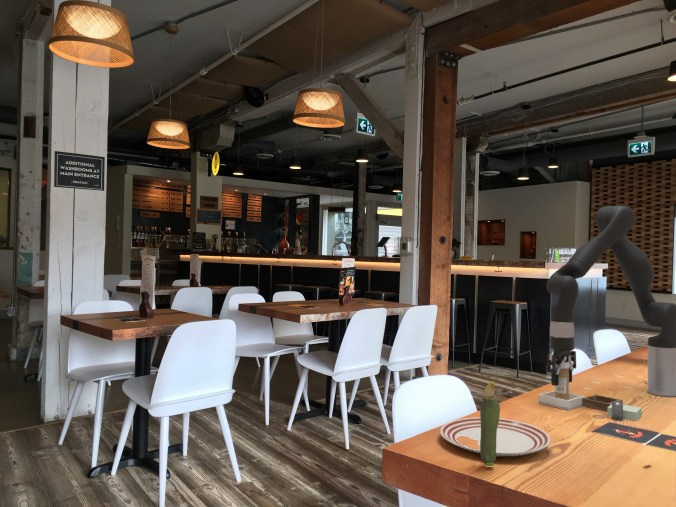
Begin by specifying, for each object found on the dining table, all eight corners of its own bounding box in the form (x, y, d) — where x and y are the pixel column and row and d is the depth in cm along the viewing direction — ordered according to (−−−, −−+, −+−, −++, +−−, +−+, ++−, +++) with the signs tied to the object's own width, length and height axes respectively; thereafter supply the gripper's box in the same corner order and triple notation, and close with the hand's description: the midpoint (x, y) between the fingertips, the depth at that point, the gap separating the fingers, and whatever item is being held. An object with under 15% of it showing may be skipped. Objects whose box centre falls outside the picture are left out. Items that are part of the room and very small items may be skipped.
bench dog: (614, 417, 163) (614, 400, 163) (624, 419, 160) (624, 402, 160) (610, 418, 161) (610, 402, 161) (620, 421, 159) (620, 404, 159)
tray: (555, 398, 184) (555, 390, 184) (584, 405, 176) (584, 396, 176) (538, 403, 178) (538, 394, 178) (568, 410, 170) (568, 401, 170)
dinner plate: (492, 472, 119) (492, 458, 119) (419, 436, 144) (419, 424, 144) (574, 453, 132) (574, 440, 132) (495, 423, 156) (495, 411, 156)
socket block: (595, 401, 181) (595, 394, 181) (622, 407, 173) (622, 400, 174) (581, 406, 175) (581, 398, 175) (609, 412, 168) (609, 404, 168)
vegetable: (477, 463, 124) (477, 377, 124) (495, 463, 125) (495, 377, 125) (484, 470, 120) (484, 382, 120) (502, 470, 120) (503, 382, 120)
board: (613, 412, 169) (613, 402, 169) (641, 417, 164) (641, 407, 164) (607, 417, 164) (607, 407, 164) (636, 422, 159) (636, 412, 159)
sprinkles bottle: (572, 402, 176) (572, 362, 176) (564, 404, 174) (564, 363, 174) (560, 399, 180) (560, 359, 180) (551, 401, 178) (551, 361, 178)
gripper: (562, 332, 185) (562, 378, 184) (539, 335, 176) (539, 384, 176) (583, 334, 179) (583, 382, 178) (561, 338, 170) (561, 388, 170)
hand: (561, 383), depth 177 cm, fingers open, 8 cm apart
